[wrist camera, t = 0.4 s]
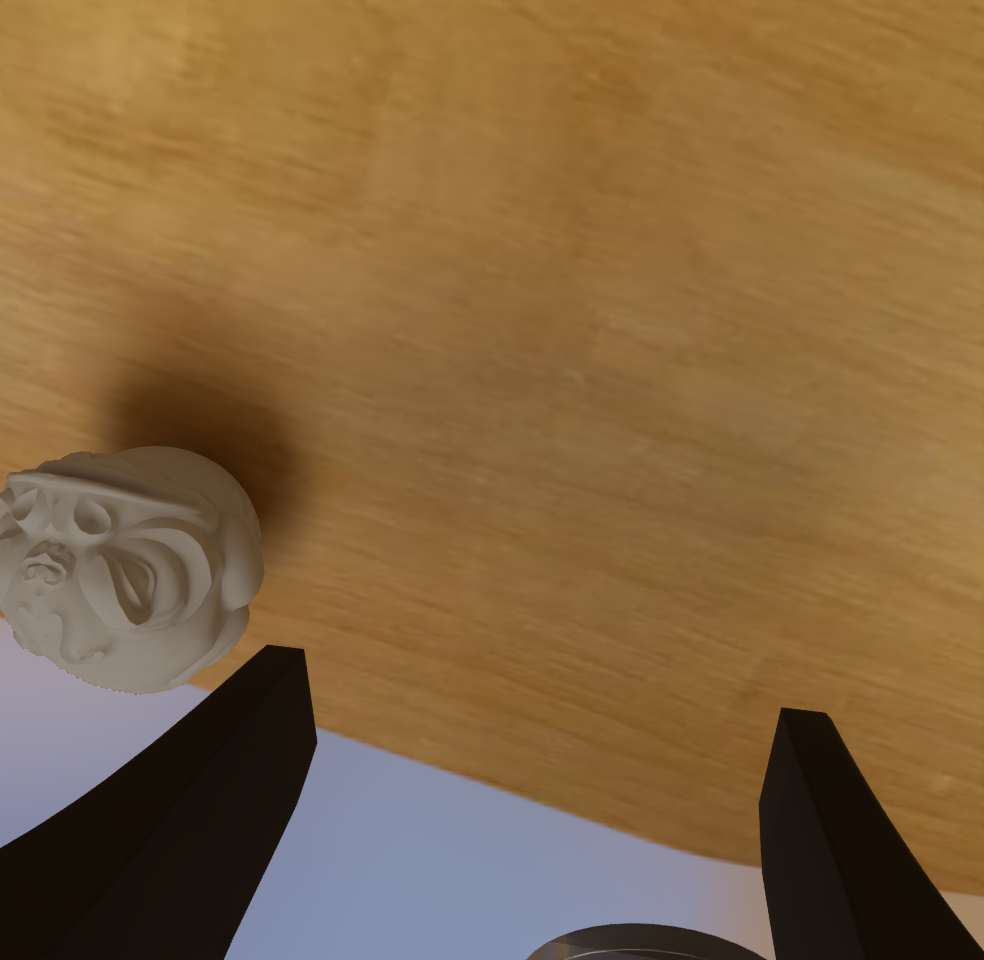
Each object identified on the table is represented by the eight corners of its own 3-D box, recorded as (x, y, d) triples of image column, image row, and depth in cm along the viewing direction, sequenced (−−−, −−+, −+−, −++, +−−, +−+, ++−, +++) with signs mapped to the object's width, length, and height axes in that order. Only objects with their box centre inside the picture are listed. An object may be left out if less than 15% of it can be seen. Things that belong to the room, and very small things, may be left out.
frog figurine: (307, 387, 21) (170, 545, 15) (311, 605, 25) (201, 801, 19) (79, 350, 22) (-138, 487, 16) (115, 568, 26) (-51, 746, 20)
